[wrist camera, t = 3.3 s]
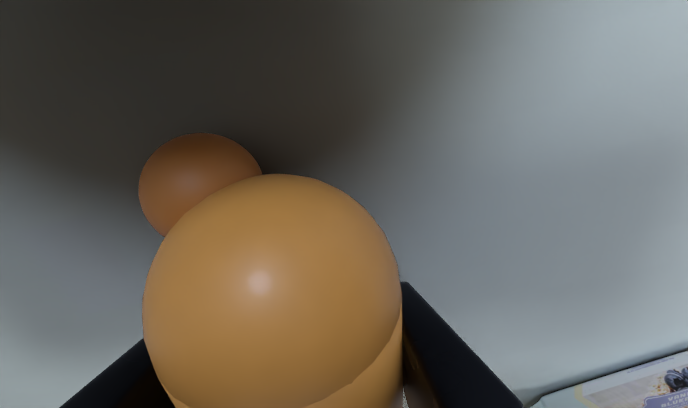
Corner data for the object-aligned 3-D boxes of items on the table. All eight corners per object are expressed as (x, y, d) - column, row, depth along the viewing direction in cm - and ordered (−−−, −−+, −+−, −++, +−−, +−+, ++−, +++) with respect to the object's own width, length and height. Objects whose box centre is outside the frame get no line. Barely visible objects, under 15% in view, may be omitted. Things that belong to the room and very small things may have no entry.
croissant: (379, 103, 6) (444, 206, 3) (389, 369, 11) (422, 563, 7) (157, 125, 7) (-99, 258, 3) (253, 380, 11) (205, 578, 7)
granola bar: (526, 427, 12) (542, 459, 11) (511, 396, 11) (527, 428, 10) (724, 371, 11) (760, 402, 10) (726, 330, 10) (766, 360, 9)
